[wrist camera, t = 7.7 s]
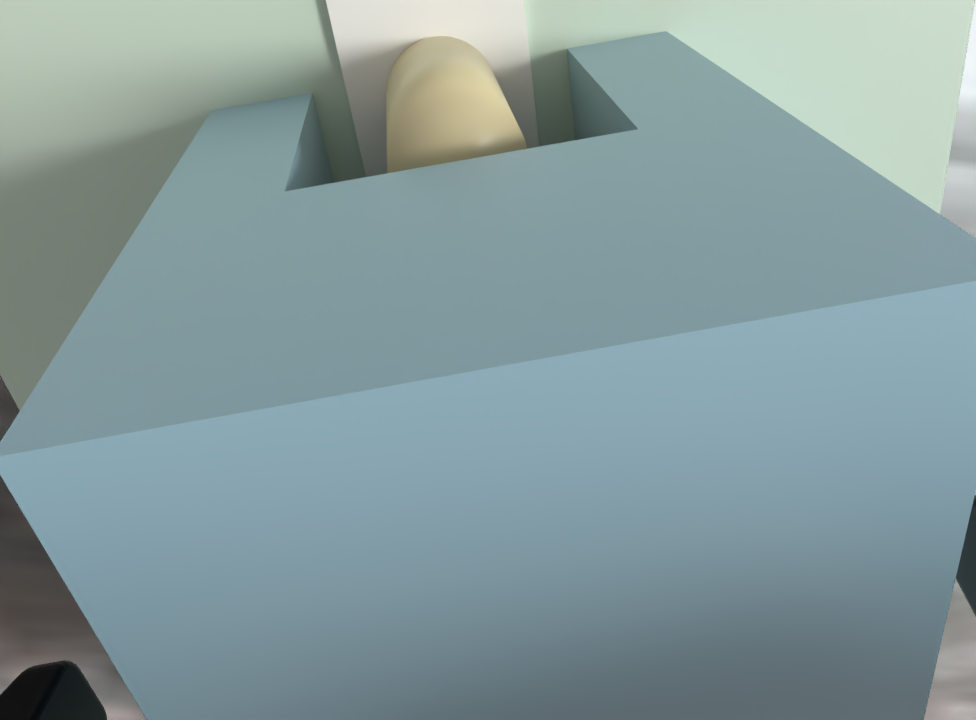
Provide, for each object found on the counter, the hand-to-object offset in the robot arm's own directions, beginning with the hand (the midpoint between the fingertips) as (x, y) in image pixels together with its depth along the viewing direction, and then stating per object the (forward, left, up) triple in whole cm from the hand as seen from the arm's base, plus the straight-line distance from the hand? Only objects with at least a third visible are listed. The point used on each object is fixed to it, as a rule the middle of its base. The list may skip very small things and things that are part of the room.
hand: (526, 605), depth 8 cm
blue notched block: (0, 0, -4) cm, 4 cm away
